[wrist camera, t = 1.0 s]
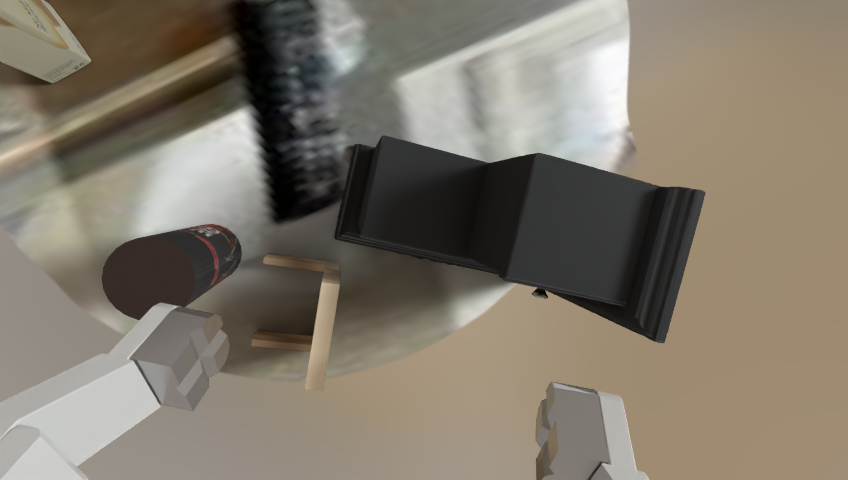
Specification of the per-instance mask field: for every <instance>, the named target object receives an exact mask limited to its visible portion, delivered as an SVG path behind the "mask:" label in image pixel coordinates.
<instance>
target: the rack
mask: <svg viewBox="0 0 848 480" xmlns="http://www.w3.org/2000/svg"><path fill="white" fill-rule="evenodd" d="M263 264H268V265H276V266H283V267H290V268H298V269H305V270H313V271H320V272H324V273H323V278H322V283H321V290H320V296H319V302H318V309H317V315H316V321H315V328H314V334H313V336H307V335H298V334H288V333H279V332H269V331H260V330H257V332H256V333H255V335H254V337H253V338H252V342H251V346H257V347H267V348H277V349H288V350H298V351H308V352H311V353H310V360H309V366H308V372H307V379H306V385H305V390H317V391H323V387H324V381H325V375H326V369H327V362H328V356H329V350H330V344H331V338H332V331H333V325H334V319H335V313H336V306H337V300H338V294H339V288H340V263H336V262H328V261H321V260H314V259H307V258H300V257H293V256H286V255H279V254H272V253H268V254H267V255H266V256H265V257H264V262H263Z"/></svg>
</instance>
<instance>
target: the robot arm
mask: <svg viewBox="0 0 848 480" xmlns="http://www.w3.org/2000/svg"><path fill="white" fill-rule="evenodd" d="M222 326H223V321H222V319H221V317H220V315H216V314H211V313H207V312H202V311H198V310H193V309H188V308H184V307H180V306H175V305H170V304H165V303H159V304H157V305H155V306H153V307H152V308H151V309H150V310H149V311H148V312H147V313H146V314H145V315H144V316H143V317H142V318H141V319H140V320H139V322H138V323H137V324H136V325H135V326H134V327H133V328H132V329H131V330H130V331H129V332H128V333H127V334H126V335H125V336H124V337H123V339H122V340H121V341H120V342H119V343H118V344H117V345H116V346H115V347H114V348H113V349H112V350H111V351H110V352H109V353H108V354H100V355H98V356H96V357H94V358H91V359H90V360H87V361H85V362H83V363H81V364H79V365H77V366H75V367H73V368H71V369H69V370H67V371H65V372H62V373H60V374H58V375H56V376H54V377H52V378H50V379H48V380H46V381H44V382H42V383H40V384H38V385H36V386H34V387H31V388H30V389H27V390H25V391H23V392H21V393H19V394H17V395H15V396H13V397H11V398H9V399H7V400H5V401H2V402H1V403H0V480H89V479H88V478H87V477H86V476H85V475H84V474H83V473H82V472H81V471H80V470H79V469H78V468H77V466H78V465H79V464H81V463H82V462H84V461H85V460H86V459H88V458H89V457H91V456H92V455H93V454H95V453H96V452H98V451H99V450H100V449H102V448H103V447H105V446H106V445H108V444H109V443H110V442H112V441H113V440H115V439H116V438H117V437H119V436H120V435H122V434H123V433H124V432H126V431H127V430H129V429H130V428H132V427H133V426H134V425H136V424H137V423H138V422H140V421H141V420H143V419H144V418H146V417H147V416H148V415H150V414H151V413H153V412H154V411H155V410H157V409H158V408H160V405H164V406H169V407H175V408H179V409H184V410H189V411H194V409H195V408H196V406H197V405H198V403H199V402H200V400H201V399H202V397H203V396H204V394H205V392H206V391H207V389H208V388H209V382H208V381H209V379H208V378H210V377H211V376H213V375H215V374H216V373H218V372H219V371H220V370H221V368H222V367H223V365H224V364H225V362H226V359H227V356H228V353H229V349H230V342H229V339H228V336H227V335H226V334H225V333H224V332H223V331H222V330H221V327H222ZM546 396H547V399H544V400H542V401H541V403H540V406H539V409H538V414H537V419H536V442H537V443H538V445H539V446H540V448H541V450H540V452H539V455H538V457H537V459H536V479H537V480H649V479H648V477H647V476H646V474H645V473H644V472H641V471H638V470H636V465H635V460H634V455H633V450H632V445H631V440H630V435H629V430H628V425H627V420H626V414H625V410H624V405H623V400H622V399H621V397H620V396H619V395H616V394H611V393H605V392H599V391H595V390H593V389H588V388H583V387H577V386H571V385H566V384H561V383H556V382H551V383H550V384H549V385H548V388H547V390H546Z"/></svg>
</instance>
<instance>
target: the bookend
mask: <svg viewBox="0 0 848 480" xmlns="http://www.w3.org/2000/svg"><path fill="white" fill-rule="evenodd" d="M704 196H705V192H704V191H702V190H696V189H690V188H683V187H660V186H656V185H652V184H650V183H646V182H643V181H639V180H636V179H632V178H629V177H625V176H622V175H618V174H615V173H611V172H608V171H604V170H600V169H597V168H594V167H590V166H587V165H583V164H579V163H576V162H572V161H568V160H565V159H561V158H557V157H554V156H550V155H546V154H542V153H535V154H530V155H525V156H519V157H514V158H510V159H506V160H502V161H497V162H493V163H487V162H483V161H479V160H475V159H472V158H468V157H464V156H460V155H456V154H453V153H449V152H445V151H441V150H438V149H434V148H430V147H427V146H423V145H419V144H415V143H411V142H408V141H404V140H400V139H396V138H392V137H388V136H382V137H381V139H380V140H379V142H378V144H377V145H376V147H375V148H374V147H370V146H366V145H361V144H355V145H354V150H353V155H352V159H351V163H350V168H349V172H348V177H347V181H346V186H345V189H344V193H343V196H342V203H341V206H340V211H339V215H338V222H337V226H336V231H335V236H334V238H335V239H337V240H341V241H346V242H350V243H354V244H359V245H364V246H368V247H373V248H378V249H383V250H388V251H392V252H396V253H399V254H406V255H411V256H414V257H416V258H419V259H429V260H431V261H434V262H440V263H447V264H449V265H457V266H462V267H466V268H471V269H476V270H480V271H485V272H489V273H494V274H499V277H501V278H502V279H503V280H505V281H509V282H513V283H518V284H523V285H527V286H532V287H537V289H536V290H535V291H534V292H533V293H532V295H534V296H535V297H538V298H544V299H546V298H548V296H547V294H546V292H545V290H546V291H549V292H551V293H553V294H554V295H557V296H559V297H561V298H563V299H566V300H568V301H570V302H572V303H574V304H576V305H578V306H580V307H583V308H585V309H587V310H589V311H591V312H593V313H596V314H598V315H600V316H601V317H604V318H606V319H608V320H610V321H612V322H614V323H616V324H618V325H621V326H623V327H625V328H627V329H629V330H631V331H633V332H636V333H638V334H641V335H643V336H645V337H647V338H648V339H651V340H653V341H655V342H658V343H664V342H665V339H666V335H667V332H668V329H669V325H670V321H671V318H672V314H673V310H674V307H675V303H676V299H677V295H678V291H679V288H680V285H681V281H682V278H683V274H684V270H685V266H686V263H687V259H688V256H689V252H690V248H691V245H692V241H693V237H694V234H695V230H696V226H697V223H698V219H699V216H700V212H701V208H702V204H703V200H704Z"/></svg>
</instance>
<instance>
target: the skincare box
mask: <svg viewBox="0 0 848 480" xmlns="http://www.w3.org/2000/svg"><path fill="white" fill-rule="evenodd" d="M0 62H2V63H4V64H7V65H9V66H11V67H14V68H16V69H19V70H21V71H23V72H26V73H28V74H31V75H33V76H35V77H38V78H40V79H43V80H45V81H47V82H50V83H55V82H57V81H59V80H60V79H62V78H64V77H66V76H68V75H70V74H72V73H74V72H75V71H77V70H79V69H81V68H82V67H84V66H86V65H87V64H89V63H90V62H91V59H90V58H89V56H88V55H87V53H86V52H85V50H84V49H83V48H82V46H81V45H80V43H79V42H78V41H77V39H76V38H75V36H74V35H73V34H72V32H71V31H70V30H69V28H68V27H67V26H66V24H65V23H64V22H63V21H62V19H61V18H60V17H59V15H58V14H57V13H56V12H55V10H54V9H53V8H52V7H51V5H50V4H48V3H47V2H46V1H44V0H0Z"/></svg>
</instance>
